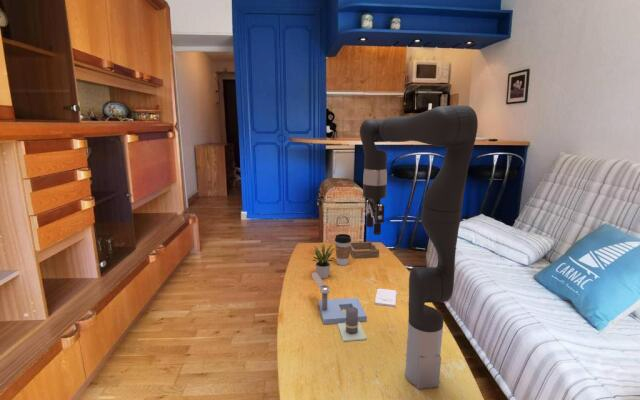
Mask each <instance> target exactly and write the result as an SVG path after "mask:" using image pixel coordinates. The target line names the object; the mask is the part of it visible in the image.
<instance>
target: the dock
mask: <svg viewBox="0 0 640 400" xmlns="http://www.w3.org/2000/svg"><path fill="white" fill-rule="evenodd" d="M328 294H329V293H327V294H323V293H321V298H322V299H319V300H318V303H317V305H318V308H319V309H318V310H319V312H320V316H321V320H322V324H323V325H335V324H338V323H345V322H346V309H347V308H348V307H355V308H357V309H358V322H360V323H361V322H367V317H368V315H367V314H366V311H365V310H364V308H363V306H362V303H361V302H360V300H359V298H358V297H347V298H331V299H329V298H328ZM342 310H343V311H342ZM344 310H345V311H344Z"/></svg>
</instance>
